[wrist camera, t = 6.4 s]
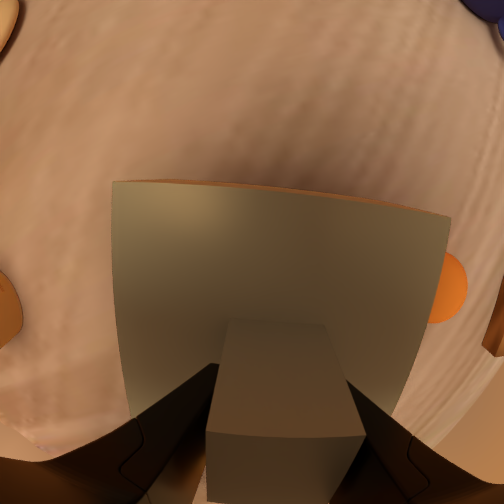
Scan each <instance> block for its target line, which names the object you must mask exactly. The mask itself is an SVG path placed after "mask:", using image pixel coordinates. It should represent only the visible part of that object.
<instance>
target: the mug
mask: <svg viewBox="0 0 504 504" xmlns="http://www.w3.org/2000/svg"><path fill="white" fill-rule="evenodd" d="M462 1H463V2H464V3H465V4H466V5H467V6H468V7H469V8H470V9H471V10H472V11H473V12H474V13H476V14H477V15H478V16H480V17H481V18H483V19H485V20H487V21H490V22H493V23H498V29H499V33H500V35H501V37H502V39H503V41H504V0H462Z"/></svg>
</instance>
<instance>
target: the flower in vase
mask: <svg viewBox="0 0 504 504" xmlns="http://www.w3.org/2000/svg"><path fill="white" fill-rule="evenodd" d="M18 12H19V3H18V0H0V52H1V51H2V49H3V47H4V46H5V44H6V42H7V40H8V38H9V36H10V34H11V32H12V30H13V28H14V25H15V23H16V20H17V17H18Z"/></svg>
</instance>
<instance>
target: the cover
mask: <svg viewBox="0 0 504 504" xmlns="http://www.w3.org/2000/svg"><path fill="white" fill-rule="evenodd" d="M450 224H451V217H447V216H443V215H439V214H435V213H431V212H427V211H423V210H419V209H415V208H411V207H406V206H402V205H398V204H393V203H389V202H384V201H379V200H372V199H366V198H359V197H353V196H346V195H339V194H331V193H324V192H316V191H308V190H299V189H290V188H281V187H271V186H261V185H250V184H238V183H226V182H212V181H196V180H178V179H158V180H131V181H113V184H112V213H111V245H112V275H113V292H114V305H115V316H116V326H117V335H118V343H119V351H120V358H121V365H122V371H123V377H124V383H125V389H126V394H127V399H128V404H129V409H130V414H131V419H132V418H136V416H137V415H138V414H140V413H141V412H143V411H144V410H146V409H147V408H149V407H150V406H152V405H153V404H154V403H156V402H157V401H159V400H160V399H162V398H163V397H164V396H166V395H167V394H169V393H170V392H171V391H173V390H174V389H176V388H177V387H178V386H180V385H181V384H182V383H184V382H185V381H187V380H188V379H189V378H191V377H192V376H193V375H195V374H196V373H197V372H199V371H200V370H201V369H203V368H204V367H205V366H207V365H208V364H209V363H217V364H220V366H219V370H218V375H217V380H216V384H215V389H214V394H213V399H212V403H211V408H210V413H209V417H208V422H207V427H206V482H207V501H208V502H216V503H224V504H328V503H329V501H330V499H331V498H332V496H333V495H334V493H335V491H336V490H337V488H338V487H339V485H340V483H341V481H342V480H343V478H344V476H345V475H346V473H347V471H348V469H349V467H350V466H351V464H352V462H353V460H354V458H355V456H356V454H357V453H358V451H359V449H360V447H361V445H362V443H363V441H364V439H365V437H366V433H365V430H364V427H363V424H362V422H361V419H360V416H359V413H358V411H357V408H356V405H355V403H354V400H353V397H352V395H351V392H350V389H349V387H348V384H347V382H346V380H348V381H349V382H350V383H351V384H352V385H353V386H355V387H356V388H357V389H358V390H359V391H361V392H362V393H363V394H364V395H365V396H366V397H368V398H369V399H370V400H371V401H372V402H374V403H375V404H376V405H377V406H378V407H380V408H381V409H382V410H383V411H384V412H386V413H387V414H388V415H389V416H390V417H391V415H392V413H393V411H394V409H395V407H396V404H397V402H398V400H399V398H400V395H401V393H402V391H403V388H404V386H405V384H406V381H407V379H408V376H409V374H410V371H411V369H412V366H413V364H414V361H415V358H416V356H417V353H418V350H419V347H420V344H421V341H422V338H423V335H424V332H425V329H426V326H427V323H428V320H429V316H430V313H431V310H432V306H433V303H434V299H435V295H436V291H437V288H438V284H439V280H440V275H441V271H442V267H443V262H444V257H445V252H446V247H447V242H448V236H449V231H450Z"/></svg>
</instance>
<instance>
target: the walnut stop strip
mask: <svg viewBox="0 0 504 504" xmlns="http://www.w3.org/2000/svg"><path fill="white" fill-rule="evenodd" d="M482 346H483V347H485V348H486V349H487V350H488V351H489V352H490V353H491V354H492V355H493V356H494V357H500V356H504V277H503V281H502V284H501V288H500V292H499V295H498V298H497V302H496V305H495V308H494V311H493V314H492V317H491V320H490V323H489V326H488V329H487V332H486V334H485V337H484V340H483V342H482Z"/></svg>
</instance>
